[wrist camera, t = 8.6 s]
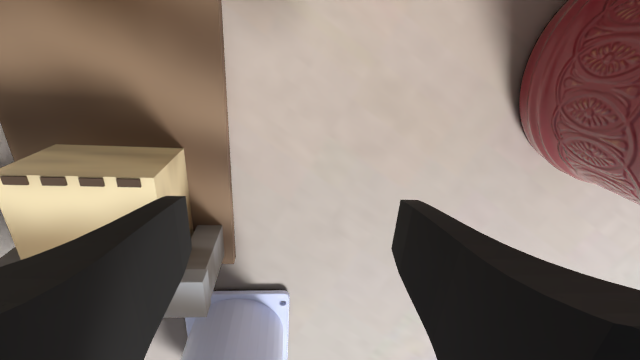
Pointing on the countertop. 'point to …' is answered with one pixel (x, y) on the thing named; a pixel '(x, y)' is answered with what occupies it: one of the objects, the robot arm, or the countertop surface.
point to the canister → (587, 94)
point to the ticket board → (116, 125)
